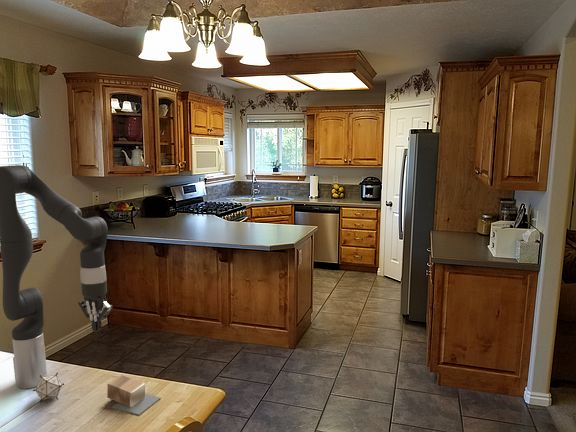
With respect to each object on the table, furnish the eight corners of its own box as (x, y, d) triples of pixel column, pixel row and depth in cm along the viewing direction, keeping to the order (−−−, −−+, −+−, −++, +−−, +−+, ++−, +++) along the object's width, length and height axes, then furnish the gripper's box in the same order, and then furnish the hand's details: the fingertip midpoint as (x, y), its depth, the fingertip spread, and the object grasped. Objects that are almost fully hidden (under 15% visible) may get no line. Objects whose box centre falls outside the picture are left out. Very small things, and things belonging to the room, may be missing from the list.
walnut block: (107, 383, 142) (131, 393, 138) (121, 374, 148) (145, 383, 144) (107, 397, 143) (131, 407, 139) (121, 388, 149) (144, 397, 145)
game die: (52, 411, 145) (47, 398, 138) (30, 400, 146) (23, 387, 139) (72, 387, 151) (67, 373, 144) (50, 376, 152) (45, 362, 145)
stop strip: (105, 408, 140) (105, 405, 140) (133, 389, 151) (132, 386, 151) (109, 409, 139) (109, 406, 139) (136, 390, 150) (136, 387, 150)
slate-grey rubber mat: (111, 407, 140) (111, 406, 140) (134, 391, 149) (134, 390, 149) (139, 415, 136) (139, 414, 136) (160, 398, 145) (160, 397, 145)
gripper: (68, 280, 142) (72, 331, 144) (100, 285, 137) (103, 338, 139) (87, 274, 149) (91, 323, 151) (118, 278, 143) (121, 330, 146)
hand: (97, 330), depth 145 cm, fingers closed
